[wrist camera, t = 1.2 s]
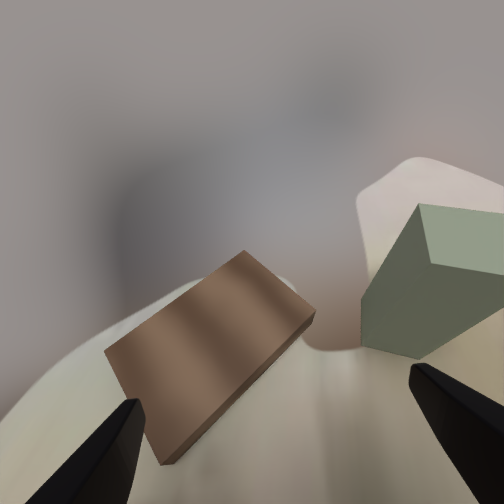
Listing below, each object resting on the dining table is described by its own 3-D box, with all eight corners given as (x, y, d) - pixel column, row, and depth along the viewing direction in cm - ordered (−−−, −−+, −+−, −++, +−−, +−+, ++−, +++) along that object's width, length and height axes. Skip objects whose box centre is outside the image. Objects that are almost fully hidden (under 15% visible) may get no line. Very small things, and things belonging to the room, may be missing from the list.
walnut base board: (246, 265, 30) (244, 249, 27) (311, 323, 25) (316, 310, 22) (120, 361, 23) (103, 350, 21) (173, 464, 18) (160, 465, 16)
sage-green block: (419, 359, 22) (544, 282, 12) (360, 345, 23) (431, 263, 13) (412, 309, 25) (508, 214, 15) (361, 299, 26) (418, 203, 16)
